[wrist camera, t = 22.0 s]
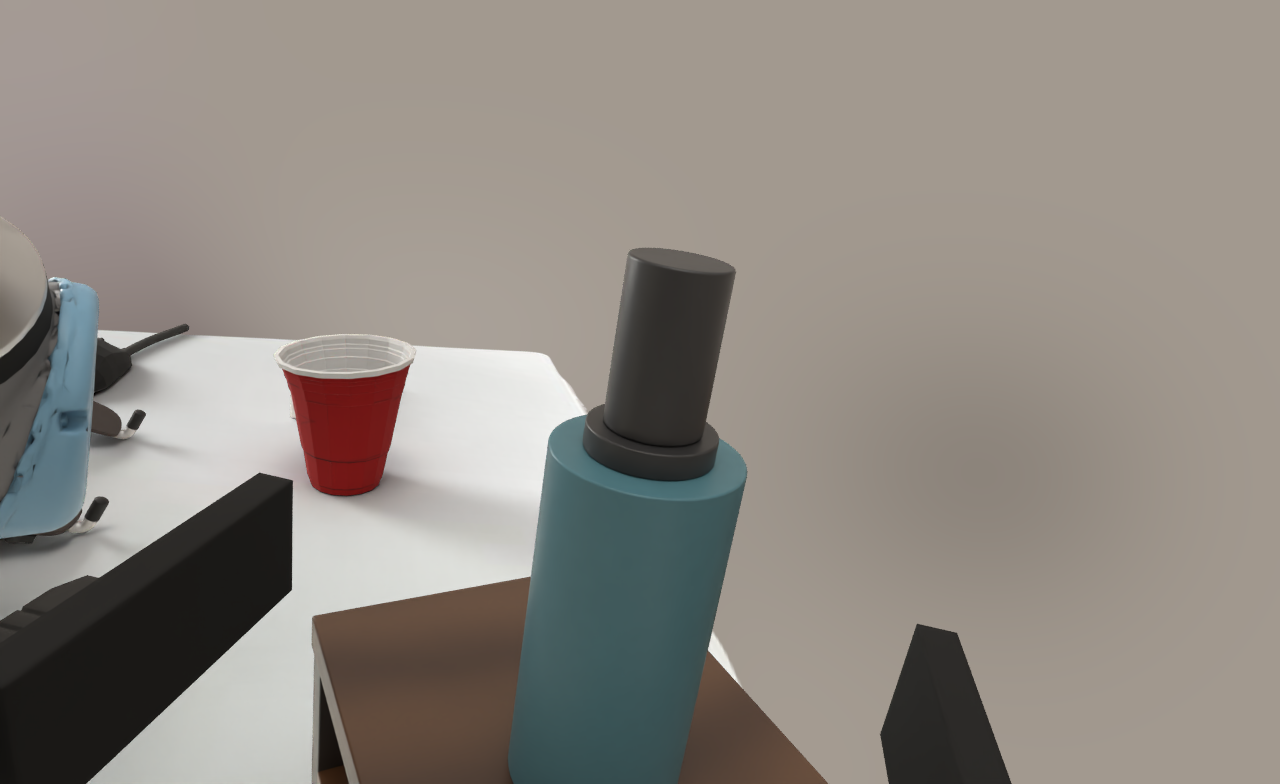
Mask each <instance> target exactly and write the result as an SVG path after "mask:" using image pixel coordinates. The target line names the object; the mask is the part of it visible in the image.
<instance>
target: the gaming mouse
mask: <svg viewBox="0 0 1280 784" xmlns="http://www.w3.org/2000/svg"><path fill="white" fill-rule="evenodd" d="M123 349H125V348H123ZM123 349H119V348H117V347H115V346H113V345H111V344H109V343H107V342H105V341H104V339H103V338H97V349H96V363H95V381H94V392H97V391H100V390H103V389H106V388H107V387H108V386H110V385H111V384H112V383H113V382H114V381H116V380H117V379H118V378H119V377H120V376H121V375H123V374H124V373H125V372H126V371H127V370H128V369H129V368H130V367H131V366H132V363H131V358H130V354H129V353H128V352H126V351H124V350H123Z"/></svg>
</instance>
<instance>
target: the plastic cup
mask: <svg viewBox="0 0 1280 784" xmlns="http://www.w3.org/2000/svg"><path fill="white" fill-rule="evenodd" d="M415 353H416V349H415V348H413V347H412V346H411V345H410V344H409V343H407V342H404V341H400V340H398V339H395V338H390V337H383V336H375V335H360V334H340V335H327V336H318V337H312V338H307V339H302V340H297V341H294V342H292V343H289V344H287V345H284V346H282V347H280V348H279V349H278V350H277V351H276V352H275V354H274V355H273V356H274V358H275V360H276V362H277V364H278V365H279V367H280V368H282V370H283V372H284V376H285V378H286V379H287V383H288V387H289V389H290V391H291V396H292V401H293V406H294V411H295V416H296V421H297V426H298V431H299V436H300V441H301V446H302V448H303V450H304V456H305V462H306V468H307V474H308V476H309V478H310V482H311V484H312V486H313V487H314V488H316V489H317V490H319V491H320V492H324V493H328V494H331V495H344V496H348V495H356V494H362V493H365V492H368V491H370V490H373V489H374V488H375V487H376V486H378V485H379V482H380V479H381V478H382V475H383V471H384V467H385V462H386V458H387V453H388V451H389V448H390V445H391V441H392V436H393V432H394V427H395V423H396V418H397V413H398V409H399V404H400V400H401V395H402V392H403V389H404V386H405V381H406V377H407V374H408V370H409V367H410V364H412V363H413V360H414V357H415Z"/></svg>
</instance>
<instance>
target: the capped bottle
mask: <svg viewBox="0 0 1280 784" xmlns="http://www.w3.org/2000/svg"><path fill="white" fill-rule="evenodd" d="M735 274H736V272H735V269H734V267H732V266H731V265H729V264H727V263H725V262H723V261H720V260H717V259H714V258H711V257H707V256H703V255H699V254H694V253H689V252H684V251H678V250H671V249H661V248H638V249H632V250H630V251H629V253H628V257H627V263H626V270H625V276H624V282H623V289H622V296H621V302H620V309H619V315H618V322H617V329H616V335H615V342H614V348H613V355H612V361H611V368H610V374H609V381H608V388H607V394H606V401H605V404H603V405H600V406H597V407H595V408H593V409H592V410H591V411H590V412H589V413H588V414H587V415H583V416H579V417H575V418H572V419H570V420H567V421H565V422H563V423H561V424H560V425H559V426H557V427H556V428H555V429H554V430H553V431H552V433H551V435H550V437H549V440H548V447H547V455H546V463H545V471H544V479H543V486H542V494H541V502H540V510H539V518H538V525H537V533H536V541H535V549H534V557H533V565H532V572H531V580H530V588H529V596H528V604H527V611H526V619H525V627H524V635H523V643H522V650H521V658H520V666H519V674H518V682H517V689H516V697H515V705H514V713H513V721H512V728H511V736H510V744H509V752H508V767H509V771H510V776H511V778H512V781H513V783H514V784H678V780H679V775H680V771H681V766H682V762H683V757H684V753H685V749H686V744H687V740H688V735H689V731H690V726H691V722H692V718H693V713H694V709H695V704H696V700H697V695H698V691H699V686H700V682H701V678H702V673H703V669H704V664H705V660H706V655H707V651H708V647H709V642H710V638H711V633H712V629H713V624H714V620H715V616H716V611H717V607H718V602H719V598H720V593H721V589H722V584H723V580H724V576H725V571H726V567H727V562H728V558H729V553H730V548H731V544H732V540H733V536H734V531H735V527H736V522H737V518H738V514H739V509H740V505H741V500H742V496H743V491H744V487H745V483H746V478H747V467H746V464H745V462H744V460H743V458H742V457H741V455H740V454H739V453H738V452H737V451H736V450H735V449H734V448H732V447H731V446H730V445H729V444H727V443H726V442H724V441H723V440H721V439H720V438H719V436H718V434H717V432H716V431H715V429H714V428H713V427H712V426H711V425H709V424H708V423H707V422H706V418H707V413H708V408H709V403H710V398H711V392H712V388H713V383H714V378H715V373H716V368H717V363H718V358H719V353H720V348H721V343H722V338H723V333H724V328H725V324H726V319H727V313H728V308H729V303H730V299H731V293H732V289H733V284H734V279H735Z"/></svg>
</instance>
